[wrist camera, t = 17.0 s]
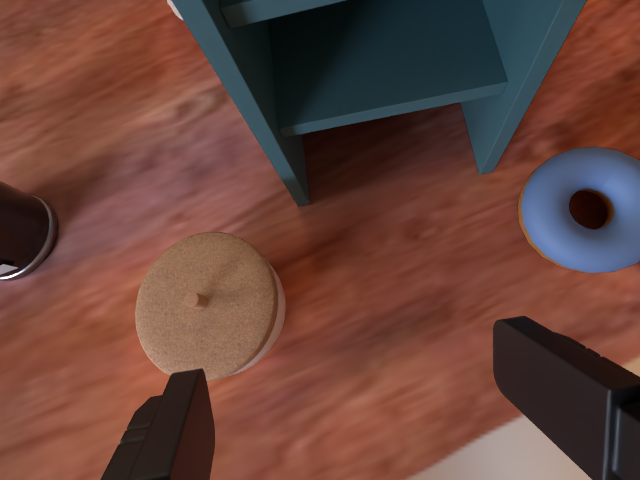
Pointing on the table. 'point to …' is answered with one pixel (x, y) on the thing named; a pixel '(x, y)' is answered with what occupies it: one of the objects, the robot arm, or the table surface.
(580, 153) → the doughnut
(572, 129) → the table surface
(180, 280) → the trinket box
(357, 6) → the teal shelf unit
